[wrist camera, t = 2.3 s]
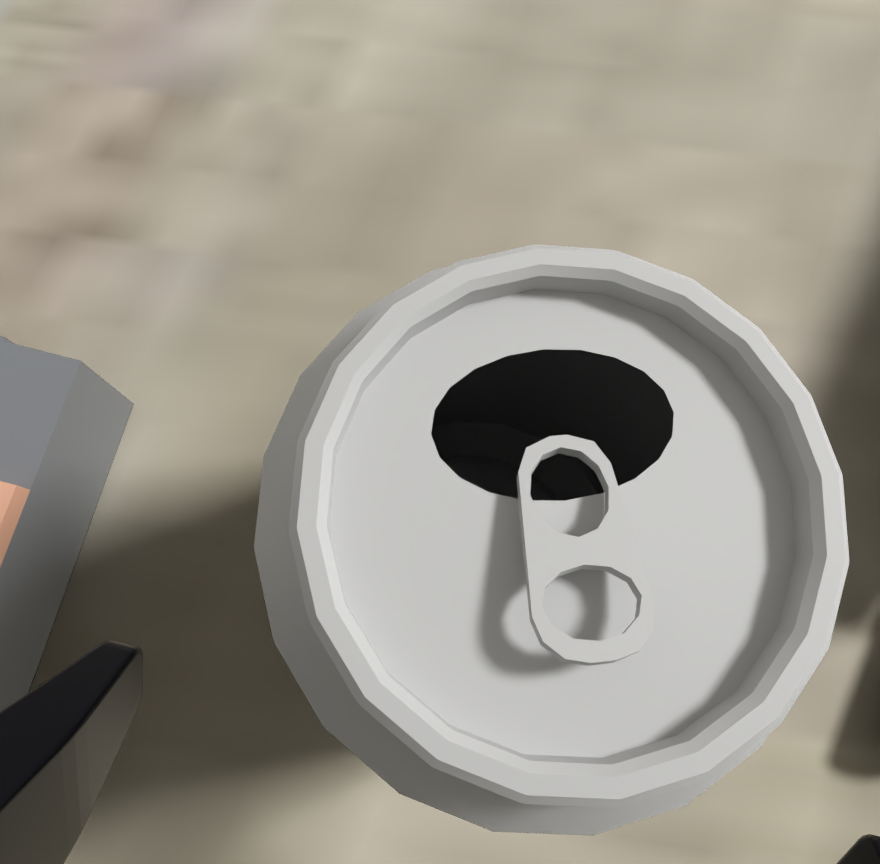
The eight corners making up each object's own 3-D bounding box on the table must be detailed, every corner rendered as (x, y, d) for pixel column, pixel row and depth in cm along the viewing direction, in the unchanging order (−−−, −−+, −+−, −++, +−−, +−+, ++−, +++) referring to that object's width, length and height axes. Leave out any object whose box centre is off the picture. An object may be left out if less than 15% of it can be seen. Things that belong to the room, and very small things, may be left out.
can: (589, 417, 21) (834, 166, 9) (634, 702, 19) (1005, 835, 7) (317, 442, 20) (209, 205, 9) (337, 738, 19) (239, 942, 7)
